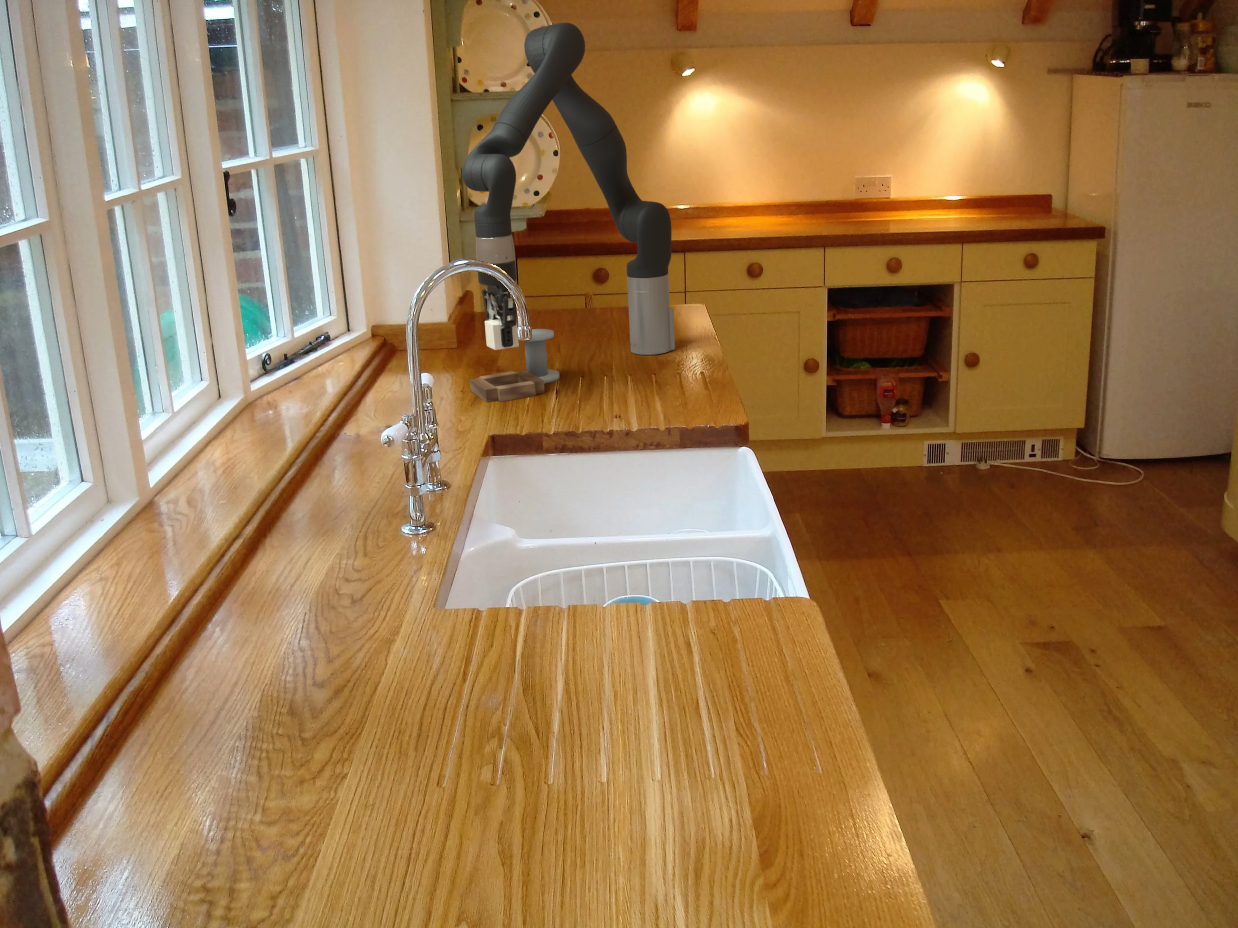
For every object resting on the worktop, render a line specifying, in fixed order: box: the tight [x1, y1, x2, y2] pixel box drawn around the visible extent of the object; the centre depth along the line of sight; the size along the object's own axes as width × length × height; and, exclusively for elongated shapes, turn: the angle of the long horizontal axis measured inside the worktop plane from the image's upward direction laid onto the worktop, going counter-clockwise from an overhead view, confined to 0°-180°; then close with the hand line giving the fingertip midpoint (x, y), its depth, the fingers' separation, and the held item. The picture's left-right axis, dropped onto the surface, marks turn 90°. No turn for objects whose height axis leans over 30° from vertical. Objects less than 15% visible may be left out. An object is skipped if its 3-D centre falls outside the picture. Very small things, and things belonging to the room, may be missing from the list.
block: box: [484, 317, 520, 351], centre depth 242 cm, size 5×5×5 cm
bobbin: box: [518, 328, 560, 385], centre depth 253 cm, size 9×9×10 cm
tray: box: [469, 370, 545, 403], centre depth 246 cm, size 12×12×2 cm
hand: (502, 343), depth 243 cm, fingers closed on block, 5 cm apart
